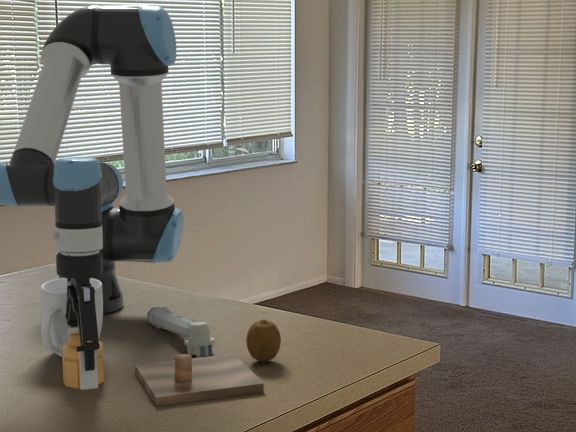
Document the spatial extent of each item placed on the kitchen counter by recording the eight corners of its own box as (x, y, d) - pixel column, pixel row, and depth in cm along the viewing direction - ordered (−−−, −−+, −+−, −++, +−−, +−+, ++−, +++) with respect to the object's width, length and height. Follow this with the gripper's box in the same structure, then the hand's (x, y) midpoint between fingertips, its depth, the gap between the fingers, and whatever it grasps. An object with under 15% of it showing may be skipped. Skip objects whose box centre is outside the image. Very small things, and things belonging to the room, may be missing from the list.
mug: (73, 373, 155) (70, 301, 153) (19, 365, 158) (15, 295, 156) (115, 346, 169) (113, 279, 166) (64, 339, 172) (61, 274, 170)
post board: (135, 373, 155) (134, 342, 154) (233, 361, 161) (233, 332, 160) (156, 406, 140) (155, 373, 139) (263, 392, 147) (263, 360, 146)
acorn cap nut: (61, 377, 152) (60, 332, 151) (99, 373, 155) (98, 328, 153) (67, 390, 147) (65, 343, 145) (106, 385, 149) (104, 339, 148)
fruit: (253, 369, 157) (253, 326, 156) (241, 358, 163) (241, 316, 162) (286, 365, 160) (286, 322, 158) (272, 354, 165) (273, 313, 164)
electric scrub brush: (167, 304, 185) (218, 318, 163) (169, 335, 185) (220, 354, 164) (143, 307, 183) (191, 322, 161) (145, 339, 183) (194, 358, 161)
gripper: (47, 239, 157) (50, 355, 160) (66, 268, 134) (70, 402, 137) (90, 237, 159) (93, 351, 163) (116, 264, 136) (119, 397, 140)
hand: (82, 375), depth 150 cm, fingers open, 13 cm apart
